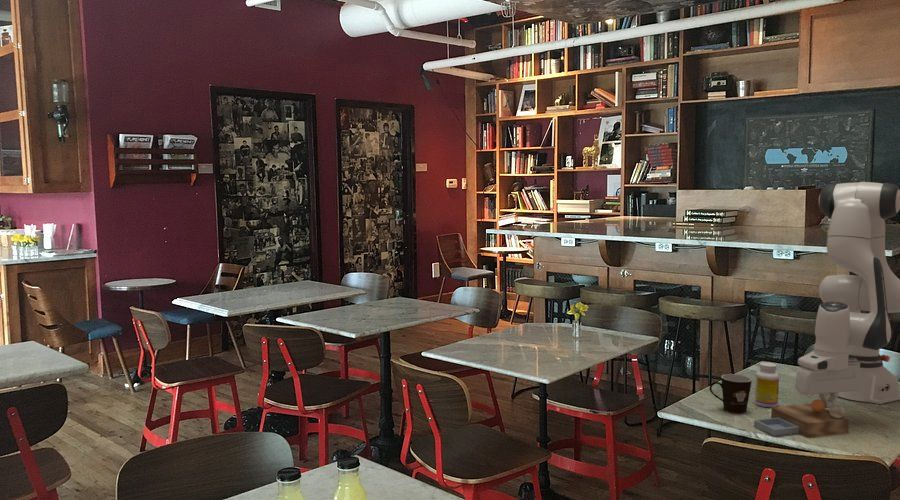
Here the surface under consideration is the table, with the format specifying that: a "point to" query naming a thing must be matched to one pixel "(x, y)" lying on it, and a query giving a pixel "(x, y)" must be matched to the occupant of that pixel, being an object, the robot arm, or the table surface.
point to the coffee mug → (734, 392)
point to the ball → (817, 406)
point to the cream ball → (836, 411)
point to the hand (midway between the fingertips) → (827, 407)
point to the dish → (776, 427)
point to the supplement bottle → (767, 385)
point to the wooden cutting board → (811, 420)
